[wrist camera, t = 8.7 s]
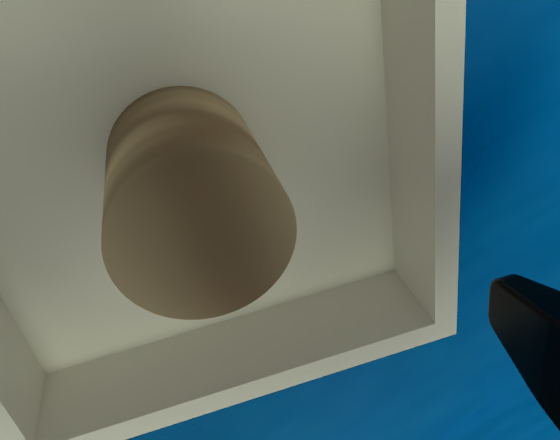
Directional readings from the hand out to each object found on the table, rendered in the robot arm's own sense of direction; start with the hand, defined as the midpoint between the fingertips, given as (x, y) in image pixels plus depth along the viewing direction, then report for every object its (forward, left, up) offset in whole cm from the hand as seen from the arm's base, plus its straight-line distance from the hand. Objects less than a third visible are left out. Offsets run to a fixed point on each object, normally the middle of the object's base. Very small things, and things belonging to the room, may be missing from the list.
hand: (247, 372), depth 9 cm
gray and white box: (0, 0, -10) cm, 10 cm away
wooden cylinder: (0, 0, -9) cm, 9 cm away
